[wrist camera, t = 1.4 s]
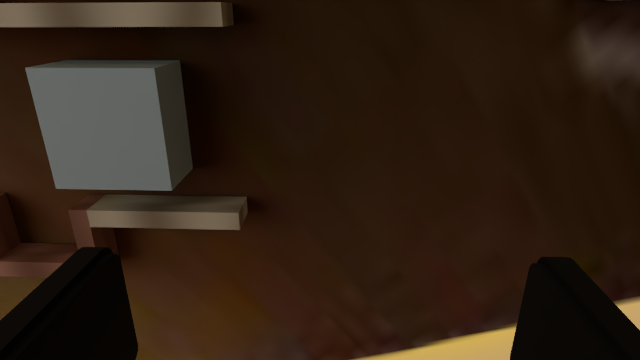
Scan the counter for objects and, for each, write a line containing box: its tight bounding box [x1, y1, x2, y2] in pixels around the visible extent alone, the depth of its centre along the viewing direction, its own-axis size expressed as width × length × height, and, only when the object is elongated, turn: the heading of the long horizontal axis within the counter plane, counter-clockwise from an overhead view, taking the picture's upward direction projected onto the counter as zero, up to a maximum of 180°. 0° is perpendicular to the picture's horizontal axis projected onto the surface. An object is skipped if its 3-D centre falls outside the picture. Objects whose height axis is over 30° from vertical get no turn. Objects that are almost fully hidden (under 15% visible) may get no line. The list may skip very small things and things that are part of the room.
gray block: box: [25, 60, 193, 191], centre depth 25 cm, size 7×7×4 cm
